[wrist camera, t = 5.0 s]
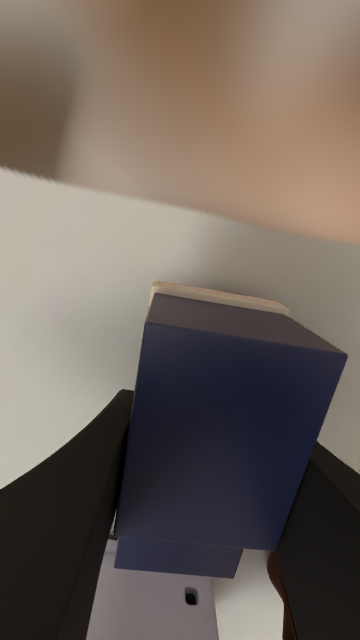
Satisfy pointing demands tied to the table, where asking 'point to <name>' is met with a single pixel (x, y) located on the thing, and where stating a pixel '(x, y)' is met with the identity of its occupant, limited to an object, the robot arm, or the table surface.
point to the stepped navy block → (218, 429)
